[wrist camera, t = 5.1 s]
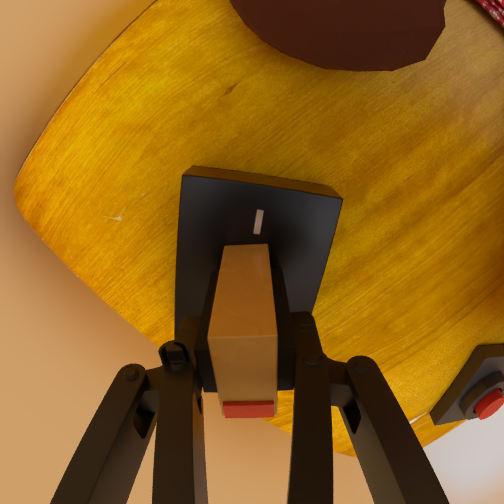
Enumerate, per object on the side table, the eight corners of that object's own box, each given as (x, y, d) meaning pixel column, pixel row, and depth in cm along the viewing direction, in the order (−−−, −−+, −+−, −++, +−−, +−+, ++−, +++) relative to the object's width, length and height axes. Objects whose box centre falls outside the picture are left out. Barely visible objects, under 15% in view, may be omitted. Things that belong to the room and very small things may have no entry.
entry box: (477, 345, 26) (493, 368, 23) (517, 342, 27) (532, 362, 23) (429, 413, 31) (439, 436, 28) (472, 405, 32) (482, 424, 28)
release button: (486, 390, 25) (492, 400, 23) (504, 386, 25) (510, 395, 24) (468, 412, 27) (473, 422, 25) (487, 407, 27) (492, 416, 25)
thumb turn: (224, 245, 18) (205, 341, 10) (267, 243, 18) (278, 339, 10) (231, 315, 20) (222, 420, 13) (269, 314, 20) (277, 419, 13)
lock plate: (191, 165, 19) (181, 174, 16) (331, 186, 19) (344, 199, 17) (181, 318, 24) (173, 344, 21) (293, 332, 25) (297, 359, 22)
